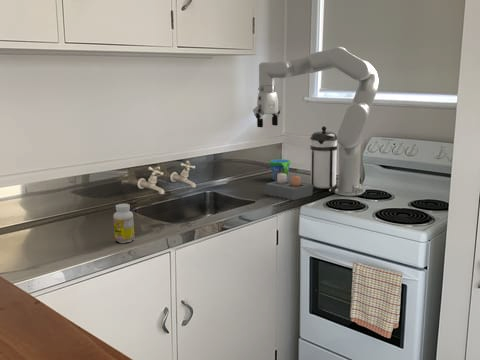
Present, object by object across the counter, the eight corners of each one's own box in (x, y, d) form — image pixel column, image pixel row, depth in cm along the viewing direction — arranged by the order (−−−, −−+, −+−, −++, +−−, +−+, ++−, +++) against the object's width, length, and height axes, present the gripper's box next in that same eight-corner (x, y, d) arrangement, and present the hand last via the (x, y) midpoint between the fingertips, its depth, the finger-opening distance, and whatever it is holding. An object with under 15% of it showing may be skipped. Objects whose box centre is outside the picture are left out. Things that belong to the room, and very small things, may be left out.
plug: (288, 184, 251) (288, 174, 250) (282, 186, 248) (282, 175, 247) (281, 183, 254) (281, 173, 253) (275, 184, 251) (275, 174, 250)
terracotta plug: (302, 187, 245) (303, 176, 244) (296, 189, 242) (296, 178, 241) (295, 186, 248) (295, 175, 247) (289, 187, 245) (289, 176, 244)
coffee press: (346, 190, 256) (348, 126, 250) (317, 193, 250) (318, 128, 244) (327, 183, 272) (328, 123, 265) (299, 186, 266) (299, 125, 260)
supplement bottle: (111, 240, 188) (109, 204, 185) (129, 237, 192) (127, 201, 189) (120, 245, 182) (117, 208, 180) (138, 241, 186) (135, 205, 184)
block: (312, 195, 247) (312, 184, 246) (293, 200, 239) (293, 189, 238) (284, 189, 259) (284, 179, 258) (265, 194, 251) (265, 183, 250)
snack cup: (266, 177, 287) (265, 158, 285) (285, 176, 290) (285, 157, 287) (274, 183, 272) (274, 163, 270) (294, 182, 275) (294, 162, 272)
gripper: (259, 90, 243) (259, 128, 247) (286, 88, 254) (286, 125, 258) (248, 90, 249) (248, 127, 252) (274, 88, 260) (274, 124, 263)
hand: (267, 126), depth 255 cm, fingers open, 9 cm apart
